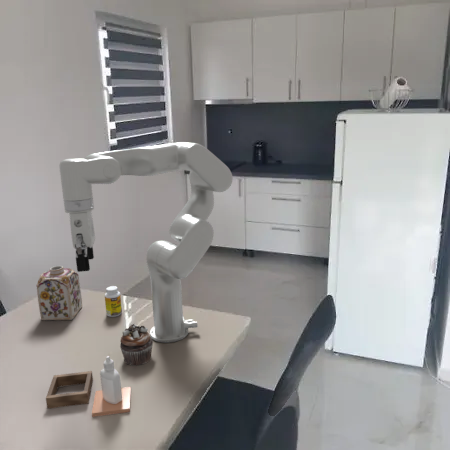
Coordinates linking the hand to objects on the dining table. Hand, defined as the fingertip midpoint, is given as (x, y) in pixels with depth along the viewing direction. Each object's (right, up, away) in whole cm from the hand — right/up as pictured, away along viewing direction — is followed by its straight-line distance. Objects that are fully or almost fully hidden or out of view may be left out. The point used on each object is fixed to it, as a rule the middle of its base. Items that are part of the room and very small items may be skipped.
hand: (85, 264), depth 124 cm
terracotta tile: (+10, -34, -11) cm, 37 cm away
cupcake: (+13, -29, +9) cm, 33 cm away
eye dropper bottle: (+10, -33, -11) cm, 37 cm away
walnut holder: (-2, -33, -7) cm, 34 cm away
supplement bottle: (-1, -22, +38) cm, 44 cm away
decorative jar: (-21, -22, +40) cm, 50 cm away
